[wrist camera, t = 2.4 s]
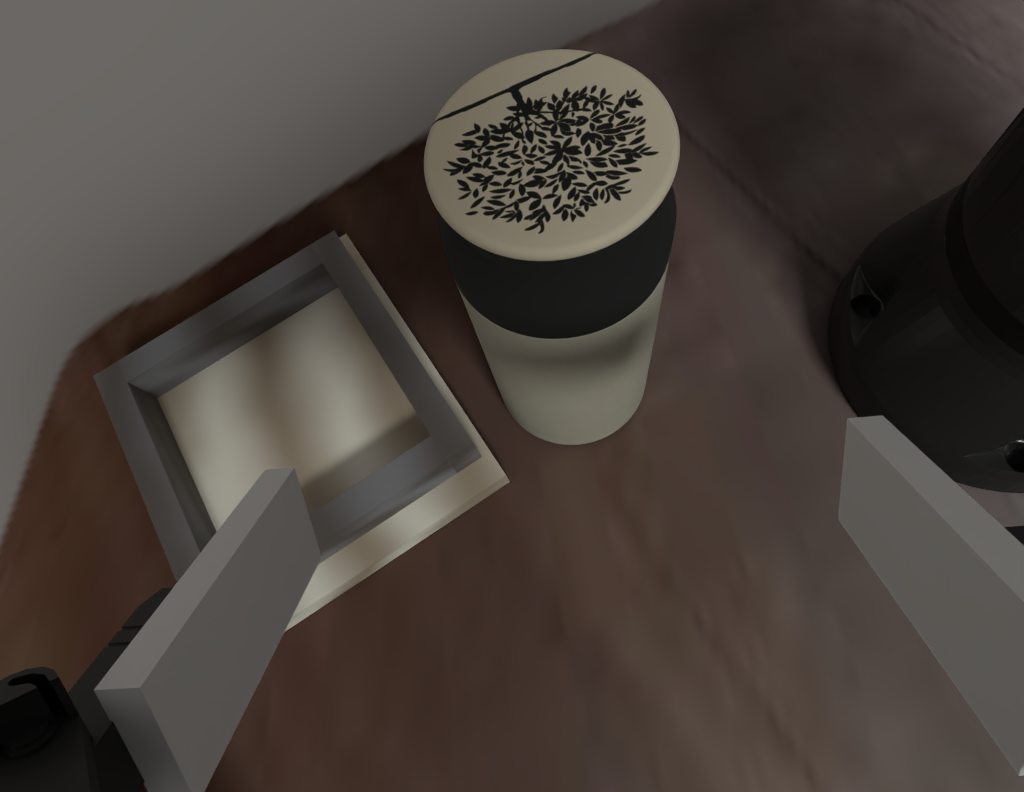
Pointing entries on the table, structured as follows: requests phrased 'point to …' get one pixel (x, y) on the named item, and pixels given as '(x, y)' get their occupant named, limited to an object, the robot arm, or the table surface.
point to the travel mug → (559, 231)
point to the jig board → (299, 419)
